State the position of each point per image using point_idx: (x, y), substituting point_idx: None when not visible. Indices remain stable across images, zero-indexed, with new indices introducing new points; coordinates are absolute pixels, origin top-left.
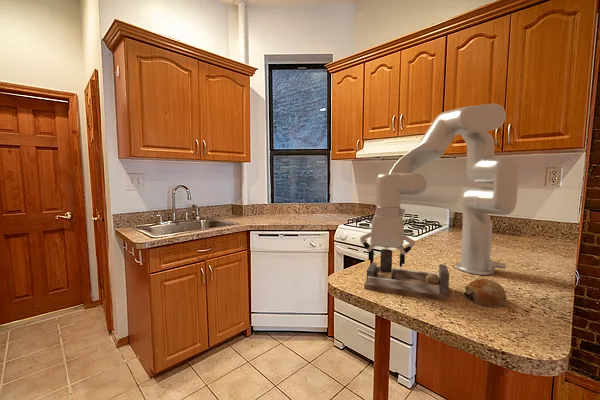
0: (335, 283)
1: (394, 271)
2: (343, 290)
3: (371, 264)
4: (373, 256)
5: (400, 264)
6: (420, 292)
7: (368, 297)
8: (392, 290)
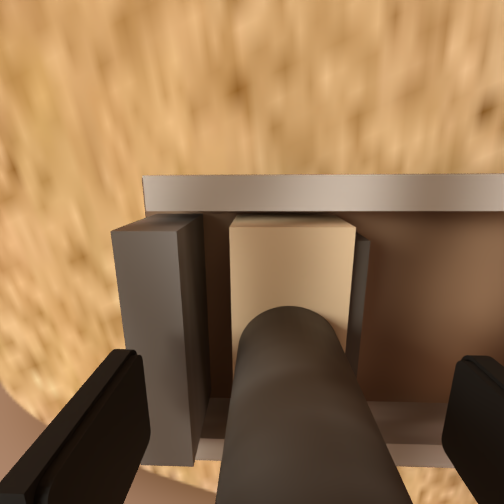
0: (8, 378)
1: (361, 316)
2: None
3: (135, 300)
4: (113, 410)
5: (466, 473)
6: None
7: (217, 475)
8: None
